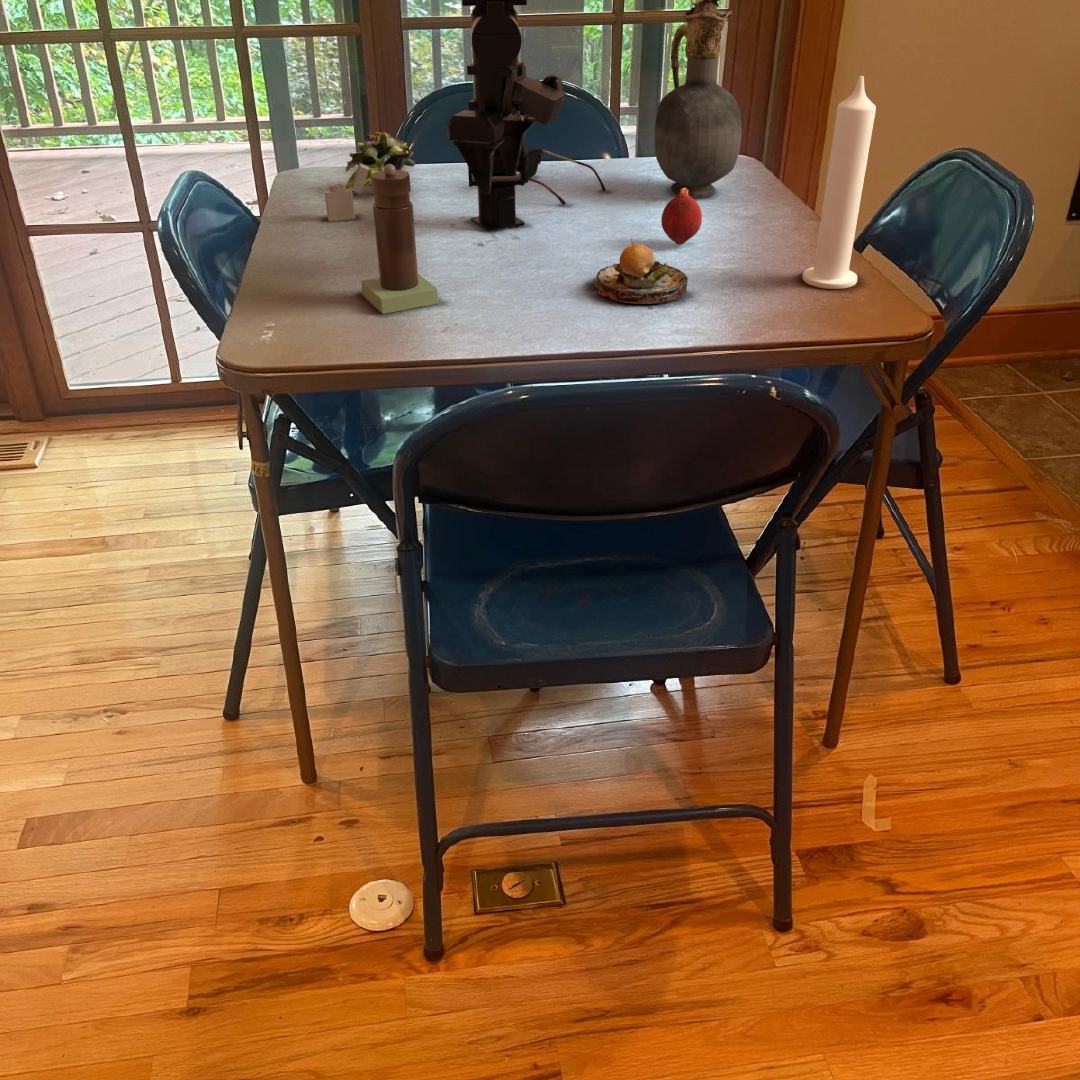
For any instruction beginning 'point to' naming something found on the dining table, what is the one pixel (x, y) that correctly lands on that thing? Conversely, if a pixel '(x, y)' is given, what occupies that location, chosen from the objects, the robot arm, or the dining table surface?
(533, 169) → the sunglasses
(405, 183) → the pepper mill
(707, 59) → the pitcher
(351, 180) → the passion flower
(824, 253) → the candle
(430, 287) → the riser block
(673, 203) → the onion
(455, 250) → the dining table surface
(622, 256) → the wood slice pumpkin decoration
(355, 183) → the lighter
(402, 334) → the dining table surface
